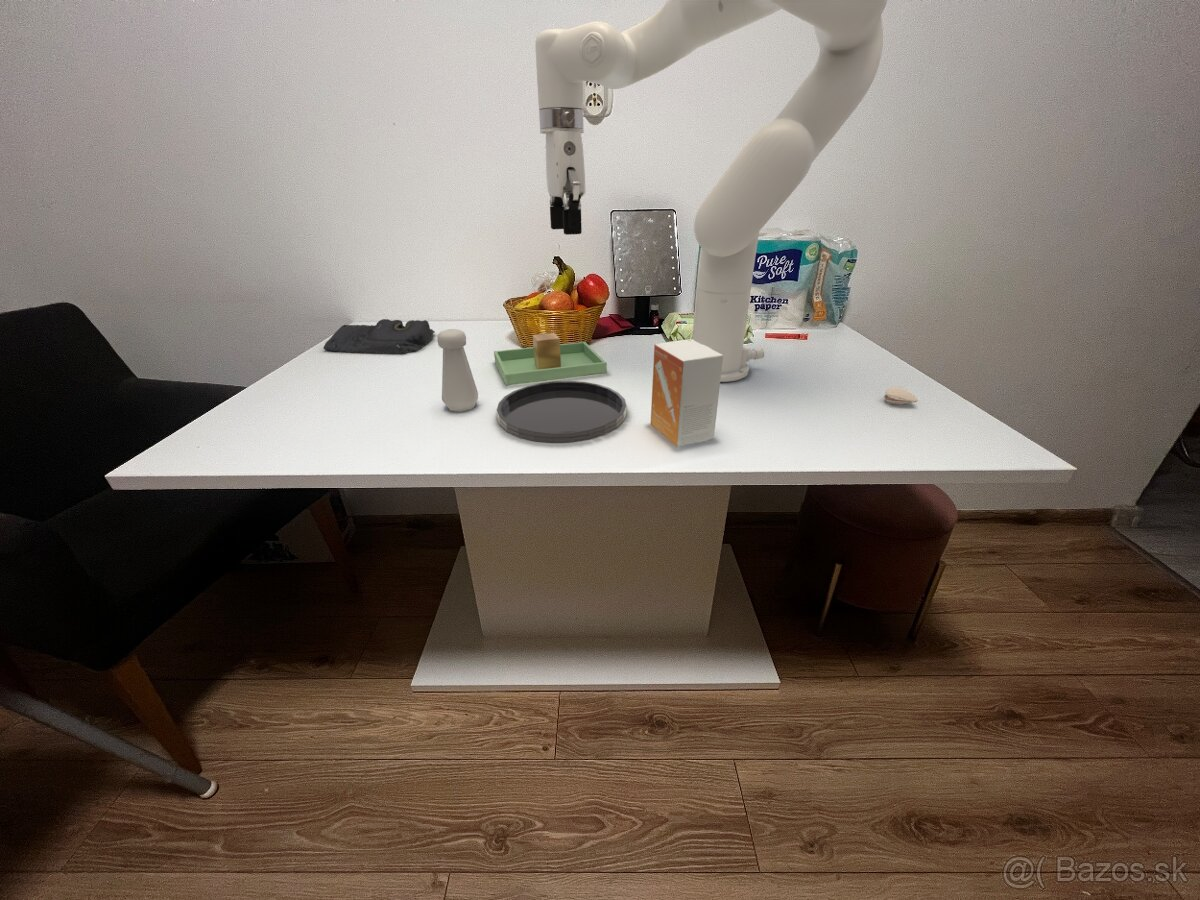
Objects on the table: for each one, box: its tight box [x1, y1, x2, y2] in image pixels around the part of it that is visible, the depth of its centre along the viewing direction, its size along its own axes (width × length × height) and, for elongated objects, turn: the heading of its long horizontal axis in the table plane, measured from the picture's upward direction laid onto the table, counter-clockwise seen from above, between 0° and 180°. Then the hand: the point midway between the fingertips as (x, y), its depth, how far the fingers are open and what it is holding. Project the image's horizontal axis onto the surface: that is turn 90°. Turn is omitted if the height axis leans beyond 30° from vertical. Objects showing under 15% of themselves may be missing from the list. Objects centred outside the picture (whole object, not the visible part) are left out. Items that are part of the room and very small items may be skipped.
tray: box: [493, 341, 608, 386], centre depth 100 cm, size 19×14×2 cm
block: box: [532, 332, 561, 370], centre depth 99 cm, size 4×4×6 cm
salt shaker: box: [436, 328, 479, 413], centre depth 81 cm, size 6×6×13 cm
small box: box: [650, 338, 723, 447], centre depth 72 cm, size 8×6×13 cm
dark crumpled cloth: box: [322, 318, 436, 355], centre depth 115 cm, size 15×22×5 cm
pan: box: [496, 380, 627, 444], centre depth 81 cm, size 20×20×2 cm
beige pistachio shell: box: [883, 386, 919, 405], centre depth 84 cm, size 4×5×2 cm
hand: (565, 231), depth 95 cm, fingers open, 9 cm apart
